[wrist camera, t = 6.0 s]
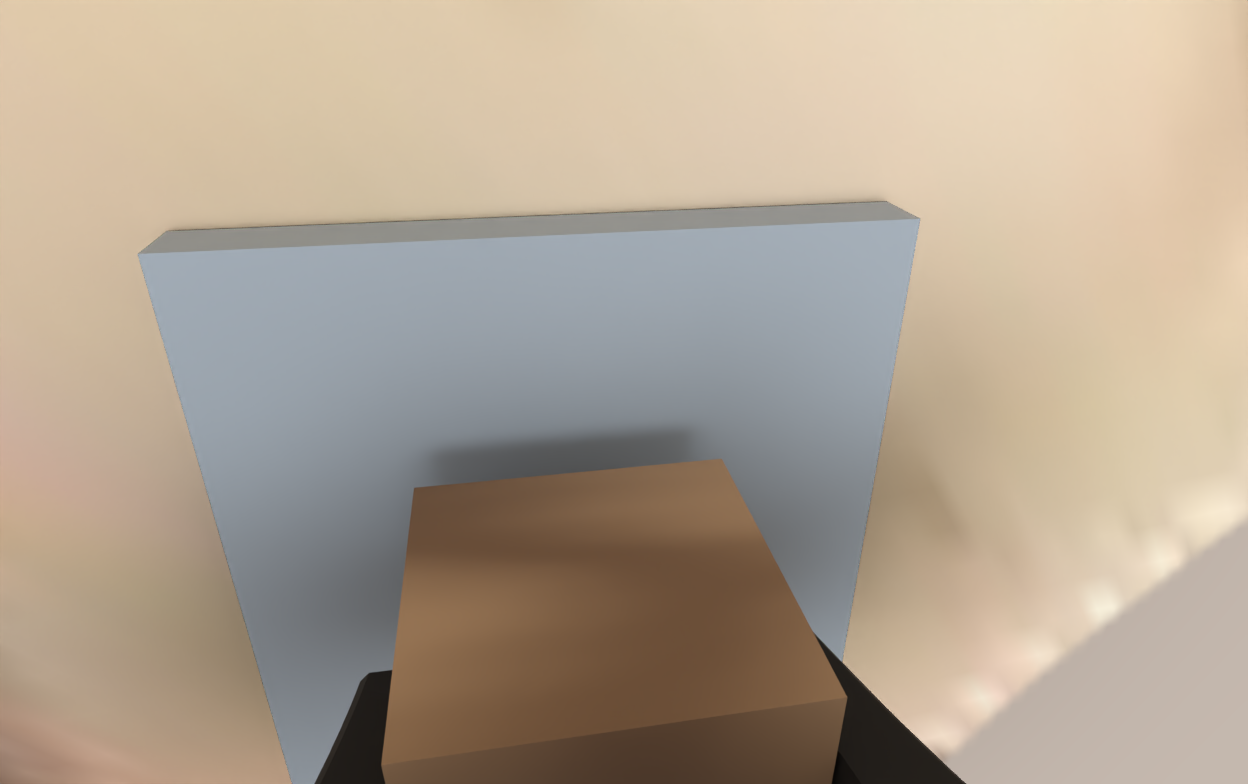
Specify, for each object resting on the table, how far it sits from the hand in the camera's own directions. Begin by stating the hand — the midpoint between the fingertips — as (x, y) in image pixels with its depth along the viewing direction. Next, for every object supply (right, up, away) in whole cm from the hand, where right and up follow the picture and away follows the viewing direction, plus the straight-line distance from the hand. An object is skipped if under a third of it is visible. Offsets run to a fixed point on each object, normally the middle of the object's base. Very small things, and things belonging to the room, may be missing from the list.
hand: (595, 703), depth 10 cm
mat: (-1, +2, +4) cm, 4 cm away
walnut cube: (0, +1, +1) cm, 2 cm away
